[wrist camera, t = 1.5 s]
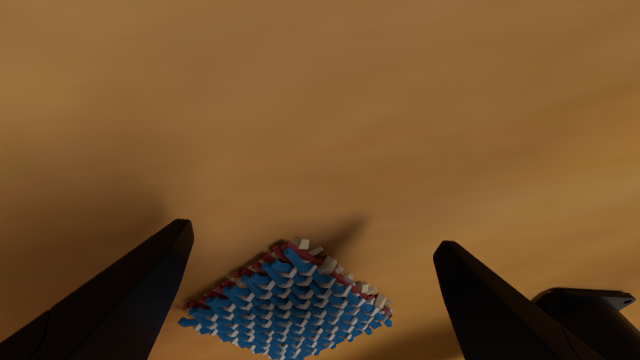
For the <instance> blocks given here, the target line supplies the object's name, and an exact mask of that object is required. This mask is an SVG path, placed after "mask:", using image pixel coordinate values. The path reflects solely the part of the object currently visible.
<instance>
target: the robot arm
mask: <svg viewBox="0 0 640 360" xmlns="http://www.w3.org/2000/svg"><path fill="white" fill-rule="evenodd" d="M193 242H194V234H193V228H192V223H191V221H190V220H188V219H176V220H174V221H172V222H171V223H170V224H168V225H167V226H165V227H164V228H163V229H161V230H160V231H158V232H157V233H156V234H154V235H153V236H151V237H150V238H148V239H147V240H146V241H144V242H143V243H141V244H140V245H139V246H137V247H136V248H134V249H133V250H132V251H130V252H129V253H127V254H126V255H124V256H123V257H122V258H120V259H119V260H117V261H116V262H115V263H113V264H112V265H110V266H109V267H108V268H106V269H105V270H103V271H102V272H101V273H99V274H98V275H96V276H95V277H93V278H92V279H91V280H89V281H88V282H86V283H85V284H84V285H82V286H81V287H79V288H78V289H77V290H75V291H74V292H72V293H71V294H69V295H68V296H67V297H65V298H64V299H62V300H61V301H60V302H58V303H57V304H55V305H54V306H53V307H51V309H50V310H47V311H45V312H44V313H42V314H41V315H40V316H38V317H37V318H35V319H34V320H33V321H31V322H30V323H28V324H27V325H25V326H24V327H23V328H21V329H20V330H18V331H17V332H15V333H14V334H12V335H11V336H9V337H8V338H7V339H5V340H4V341H2V342H1V343H0V360H147V359H148V356H149V354H150V352H151V350H152V347H153V345H154V343H155V341H156V338H157V336H158V334H159V332H160V329H161V327H162V325H163V323H164V321H165V318H166V316H167V314H168V312H169V309H170V307H171V305H172V303H173V300H174V298H175V296H176V294H177V291H178V289H179V286H180V283H181V280H182V277H183V274H184V271H185V268H186V265H187V261H188V258H189V255H190V252H191V249H192V246H193ZM433 261H434V265H435V269H436V273H437V277H438V281H439V285H440V289H441V293H442V296H443V300H444V303H445V306H446V308H447V311H448V314H449V317H450V320H451V322H452V325H453V328H454V331H455V333H456V336H457V339H458V342H459V345H460V347H461V350H462V353H463V356H464V358H465V360H640V331H638V330H637V329H636V328H635V327H634V326H633V325H632V324H631V323H630V322H629V321H628V320H627V319H626V318H625V317H624V316H623V315H622V314H621V313H620V312H619V310H621V309H623V308H624V307H626V306H628V305H629V304H631V303H633V302H634V301H635V300H636V299H635V298H634V297H633V296H632V295H631V294H630V293H621V292H603V291H585V290H567V289H560V290H557V291H554V292H553V293H551V294H550V295H549V296H547V297H546V298H545V299H544V300H542V301H541V302H540V303H539V304H537V305H535V304H534V303H532V302H531V301H530V300H528V299H527V298H526V297H525V296H523V295H522V294H521V293H520V292H518V291H517V290H516V289H515V288H513V287H512V286H511V285H510V284H508V283H507V282H506V281H504V280H503V279H502V278H501V277H499V276H498V275H497V274H496V273H494V272H493V271H492V270H491V269H489V268H488V267H487V266H486V265H484V264H483V263H482V262H480V261H479V260H478V259H477V258H475V257H474V256H473V255H472V254H470V253H469V252H468V251H467V250H465V249H464V248H463V247H462V246H460V245H459V244H458V243H456V242H455V241H447V240H444V241H442V242H441V244H440V245H439V247H438V248H437V250H436V251H435V253H434V255H433Z"/></svg>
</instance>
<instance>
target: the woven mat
mask: <svg viewBox="0 0 640 360" xmlns="http://www.w3.org/2000/svg"><path fill="white" fill-rule="evenodd" d="M308 247H309V239H307V238H304V237H296V238H295V239H293V240H291V241H290V242H289V241H287V242H286V243H284V245H283V246H282V247H280V246H279V245H278V244H277V245H275V246H274V247H272V249H273V251H274V252H272V253H271V254H269V253H266V254H265V255H263V257H262V259H261V260H259V261H258V262H257V261H256V262H254V263H252V265H251V266H250V267H249V268H245V269H243V270H239V271H236V272H234V273H233V278H231V279H229V280H226V281H224V283H223V284H218V285H217V286H216V287H215V289H214V290H209V291H208V293H207V294H206V295H204V296H203V295H202V296H200V297H199V299H198V301H195V300H194V301H192V302H188V303H185V304H184V305H183V308H184V310H185V309H187V314H188V317H192V318H195V319H186V318H184V317H183V318H181V319H180V320H179V322H178V324H180V325H181V326H183V327H188V326H193V328H194V330H197V331H198V333H199V334H201V335H202V334H206V333H209V334H210V335H214V336H215V335H216V334H217V335H218V336H219V337H220V338H219V341H220V342H222V341H223V342H226V341H229V342H231V343H232V344H235V345H236V346H238V345H239V346H240V347H241V348H245V347H247V348H248V349H249V350H252V353H253V354H254V353H255V354H256V353H261V354H262V355H265V354H267V353H268V355H269V357H268V358H270V357H271V358H272V360H273V359H278V360H303V358H304V357H306V356H308V355H310V354H314V355H315V356H316V355H318V354H319V351H321V350H323V349H325V348H328V347H331V349H334V348H335V347H336V344H338V343H340V342H343V341H345V340H344V339H348V341H349V342H351V341H353V339H354V337H356V336H358V335H360V334H362V330H364V331H365V332H366V334H367V335H370V334H372V330H371V328H370V327H369V326H371V327H372V328H373V329H375V328H377V327H380V326H382V325H381V323H380V321H382V322H384V324H385V325H386V326H387V327H391V326H392V322H391V320H390V319H389V318H391V317H392V314H391V312H393V311H392V309H391V308H389V307H387V306H386V305H388V304H390V303H392V302H393V301H392V300H388V301H386V299H387V298H386V297H384V296H382V295H381V294H378V296H377V297H376V296H375V295H372V296H368V295H370V294H371V293H373V292H375V291H376V290H377V289H376V288H375V287H374V286H373V287H370V288H368V286H369V284H368V283H366V282H364V281H358V282H356V283H355V282H354V281H352V280H353V278H354V276H353V275H351V274H350V273H348V274H346V275H344V276H340V275H339V273H341V272H343V268H341V267H340V266H339V265H338V266H336V264H337V261H336V260H335V259H333V258H331V257H329V256H327V257H326V259H325V260H324V259H323V258H318V259H317V258H315V257H314V256H315V255H317V254H318V253H319V252H321V251H322V250H324V249H323V248H322V247H318V248H315V249H313V250H311V251H309V252H306V251H304V250H302V249H308ZM279 259H282V260H284V261H285V262H286V263H282V262H280V261H279ZM305 263H307V264H305ZM335 266H336V267H335ZM260 272H261V273H263V274H266V276H262V275H260V274H259V273H260ZM320 287H321V288H320ZM222 294H223V295H222ZM375 320H378V321H379V322H376V321H375ZM211 324H212V325H211ZM195 325H197V326H195ZM207 327H208V328H207ZM356 329H359V330H356ZM232 332H233V333H232ZM233 339H234V340H233ZM246 341H247V342H246ZM264 350H265V351H264ZM289 357H290V358H289Z"/></svg>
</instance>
